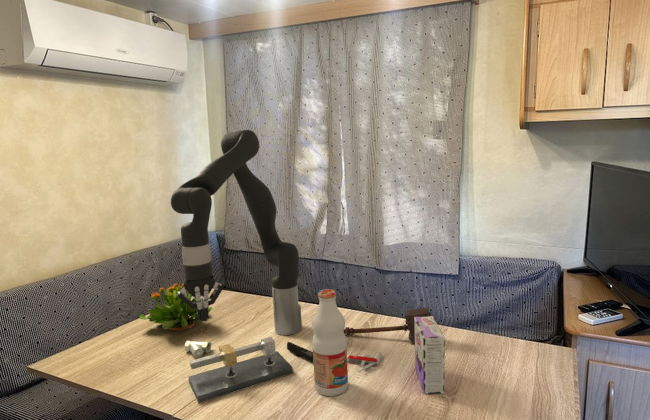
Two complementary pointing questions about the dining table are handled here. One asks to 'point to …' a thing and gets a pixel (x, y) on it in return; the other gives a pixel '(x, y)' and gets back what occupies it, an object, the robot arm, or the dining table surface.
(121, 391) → the dining table surface
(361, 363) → the swiss army knife
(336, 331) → the fruit juice
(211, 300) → the robot arm
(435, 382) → the candy box
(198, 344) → the pipe fitting
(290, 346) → the electric trimmer
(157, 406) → the dining table surface
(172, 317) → the potted flower
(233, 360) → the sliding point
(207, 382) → the bolt hole plate
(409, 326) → the hammer
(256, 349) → the steel beam
